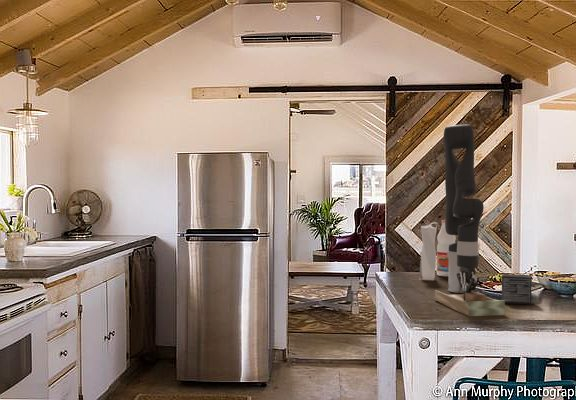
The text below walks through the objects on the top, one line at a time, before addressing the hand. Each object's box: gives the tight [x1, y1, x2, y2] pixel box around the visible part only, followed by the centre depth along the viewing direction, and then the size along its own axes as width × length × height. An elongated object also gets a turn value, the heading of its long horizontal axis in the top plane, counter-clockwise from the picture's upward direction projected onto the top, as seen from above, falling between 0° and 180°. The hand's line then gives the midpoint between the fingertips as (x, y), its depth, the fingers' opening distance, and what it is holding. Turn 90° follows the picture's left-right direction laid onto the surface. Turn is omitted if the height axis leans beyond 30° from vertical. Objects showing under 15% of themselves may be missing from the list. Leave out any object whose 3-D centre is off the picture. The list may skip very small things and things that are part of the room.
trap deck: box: [434, 289, 506, 317], centre depth 209 cm, size 13×28×5 cm, turn 10°
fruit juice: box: [436, 219, 457, 277], centre depth 284 cm, size 9×9×28 cm
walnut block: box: [465, 291, 487, 302], centre depth 199 cm, size 5×5×5 cm
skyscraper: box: [418, 222, 438, 281], centre depth 272 cm, size 8×8×28 cm
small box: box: [501, 274, 533, 305], centre depth 218 cm, size 11×6×10 cm, turn 71°
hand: (467, 301), depth 204 cm, fingers closed
